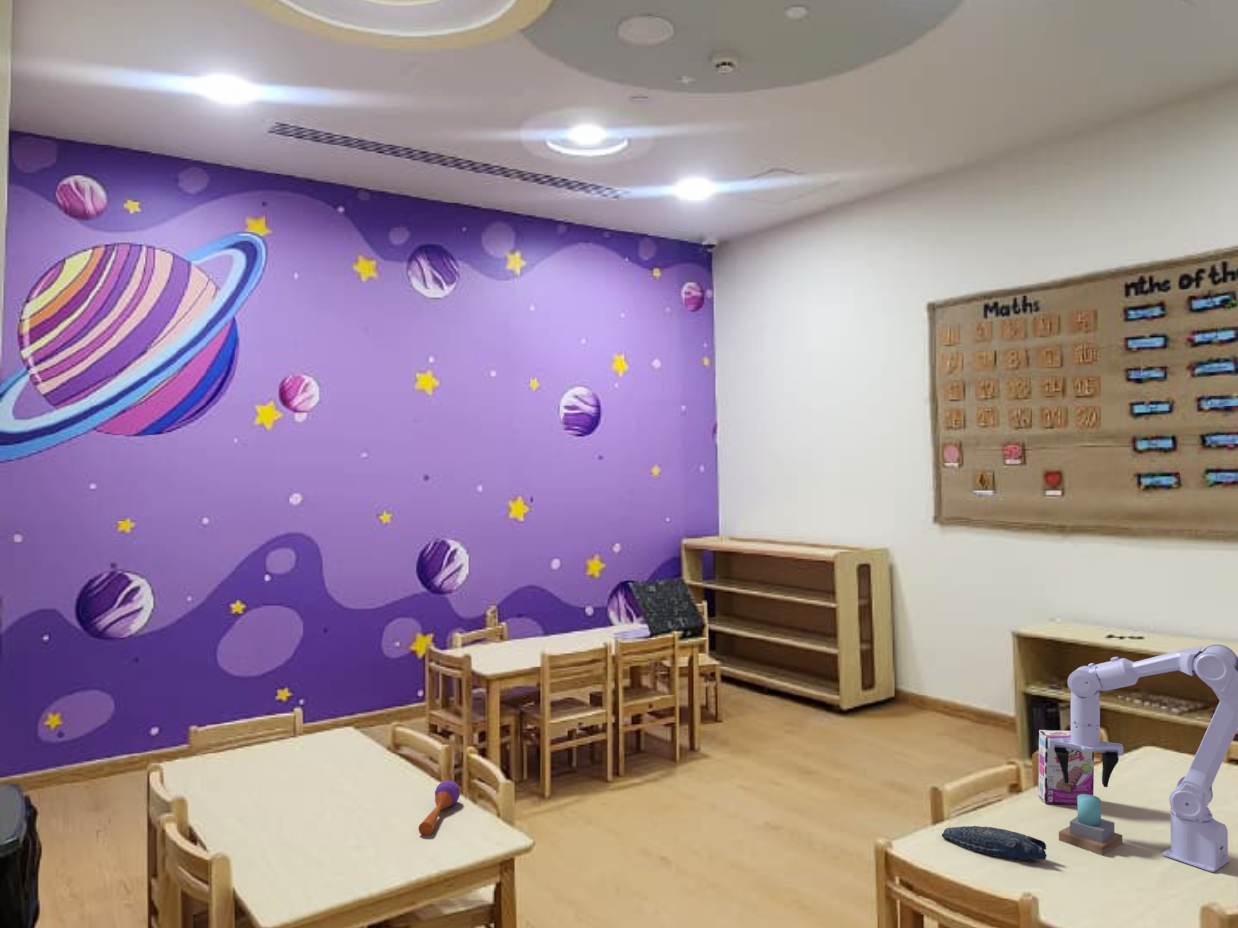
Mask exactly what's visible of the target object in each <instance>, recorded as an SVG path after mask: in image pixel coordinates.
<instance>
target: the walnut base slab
mask: <svg viewBox="0 0 1238 928" xmlns="http://www.w3.org/2000/svg"><path fill="white" fill-rule="evenodd" d="M1058 841H1059V842H1063V843H1065V844H1068V845H1070V846H1073V847H1077V848H1079V849H1082V850H1084V851H1088V852H1090V851H1091V853H1094V854H1095V855H1099V856H1101V855H1102V856H1103V855H1104V856H1105V854H1108V853H1109V852H1111V851H1113V850H1114V849H1115V848H1117V847H1119V846H1121V845H1123V834H1121V833H1117V832H1115V831H1114V835H1112V836H1111V837H1110V838H1108V839H1107V840H1106V841H1104V842H1103V843H1100V842H1097V841H1094V840H1090V839H1087V838H1084V837H1081V836H1078V835H1075V834H1071V833H1070V825H1069V826H1067V827H1066V828H1063V829H1062V830H1059V831H1058Z"/></svg>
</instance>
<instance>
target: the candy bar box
mask: <svg viewBox="0 0 1238 928" xmlns="http://www.w3.org/2000/svg"><path fill="white" fill-rule="evenodd" d="M1048 738H1071V730H1059V729H1058V730H1051V729H1039V730H1038V784H1037V785H1038V790H1037V791H1038V793H1037V794H1038V797H1039V799H1041V800H1042V802H1043V803H1044V804H1047V805H1048V804H1050V805H1076V806H1078V805H1077V796H1078V795H1081V794H1088V795H1093V796H1094V785H1095V784H1094V783H1095V782H1094V779H1095V770H1094V769H1095V768H1094V767H1095V766H1094V765H1095V764H1094V763H1095V762H1094V761H1095V752H1090V751H1079V750H1067V749H1066V750H1067V754H1068V756H1069V757H1068V779H1069V781H1068V783H1065V782H1064V780H1063V773H1062V769H1061V766H1060V763H1059V760H1058V757H1057V755H1056V753H1055V751H1054V749H1049V746H1048Z"/></svg>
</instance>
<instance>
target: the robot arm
mask: <svg viewBox="0 0 1238 928" xmlns="http://www.w3.org/2000/svg"><path fill="white" fill-rule="evenodd" d="M1204 647H1205V646H1204V645H1203V646H1195V647H1188V648H1182V649H1180V650H1175V651H1171V652H1168V653H1164V654H1163V653H1162V654H1159V655H1157V656H1153V657H1149V658H1146V659H1141V660H1138V661H1132V660H1130V659H1127V658H1125V657H1122V658H1120V657H1119V656H1113V657H1111V658H1110V661H1106V662H1100V663H1098V664H1097V663H1096V664H1095V662H1091V663H1089V664H1088V665H1081V666H1080V667H1077V669H1075V670H1073V671H1072V672H1071V673H1070V674H1069V676H1068V678H1067V686H1068V688H1069V690H1070V731H1071V738H1048V746H1049V749H1054V751H1055V753H1056V755H1057V757H1058V760H1059V763H1060V766H1061V769H1062V773H1063V780H1064V782H1065V783H1068V781H1069V779H1068V757H1069V756H1068V754H1067V750H1079V751H1090V752H1094V753H1101V761H1102V764H1101V765H1102V773H1101V784H1102V786H1103V788H1108V786H1109V781H1110V778H1111V775H1112V773H1113V771H1114V768H1115V767H1116V765H1117V764H1118V763H1119V756H1124V746H1123V744H1122V743H1119V742H1118V743H1116V742H1110V741H1104V740H1101V702H1100V692H1101V691H1102V692H1106V691H1107V692H1108V691H1112V690H1116V689H1121V688H1126V687H1130V686H1135V685H1136V684H1137V683H1138V680H1139V678H1143V677H1147V676H1154V675H1159V674H1165V673H1170V672H1176V671H1179V672H1181V673H1184V674H1186V675H1188V676H1190V677H1193V676H1194V675H1195V674H1196V675H1197V677H1198V678H1199V679H1200V680H1201V681H1202V682H1204V683H1205V684H1206V685H1207V686H1208V687H1210V688H1211V689H1212V691H1213V692H1214V694H1215V695H1216V697H1217V699H1218V700H1219V702H1218V704H1217V706H1216V708H1215V711H1214V713H1213V716H1212V718H1211V720H1210V723H1209V724H1208V726H1207V728H1206V731H1205V734H1204V735H1203V738H1202V740H1201V742H1200V745H1199V747H1198V748H1197V751H1196V753H1195V755H1194V756H1193V760H1192V761H1191V764H1190V766H1189V768H1188V770H1187V772H1186V774H1185V775H1184V776H1182V777H1181V778H1180V779H1179V780H1178V782H1177V784H1176V786H1175V788H1174V789H1173V790H1172V792H1171V793H1170V795H1169V798H1168V800H1169V805H1170V847H1169V848H1167V849H1166V850H1164V851H1163V852H1162V853H1161V854H1162V856H1164V857H1167V858H1170V859H1173V860H1176V861H1177V862H1178V861H1179V862H1182V863H1185V864H1186V865H1187V864H1188V865H1191V866H1194V867H1196V868H1200V869H1203V870H1205V871H1207V872H1211V873H1215V872H1216V871H1218V870H1219V869H1221V868H1222V867H1223V866H1225V865H1226V864H1227V863H1229V862H1230V858H1229V857H1228V856H1229V855H1228V854H1229V849H1228V848H1229V844H1228V843H1229V841H1228V838H1229V837H1228V835H1229V833H1228V832H1229V831H1228V827H1227V826H1226V824H1225V823H1223V822H1220V821H1218V820H1216V819H1215V818H1213V813H1211V809H1210V808H1209V807H1208V806H1209V805H1210V803H1211V802H1212V799H1213V796H1214V794H1213V784H1214V782H1215V780H1216V777H1217V775H1218V772H1219V770H1220V768H1221V767H1222V766H1221V765H1222V763H1223V761H1224V759H1225V758H1226V755H1227V753H1228V751H1229V748H1230V746H1231V744H1232V742H1233V740H1234V738H1235V737H1236V736H1235V735H1236V734H1237V731H1238V655H1237V654H1236V652H1234V651H1233V650H1232V648H1230V647H1228V646H1226V645H1223V644H1218V643H1214V644H1209V645H1208V646H1206V647H1205V648H1204ZM1203 648H1204V649H1203ZM1202 649H1203V650H1202ZM1066 749H1067V750H1066Z"/></svg>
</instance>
